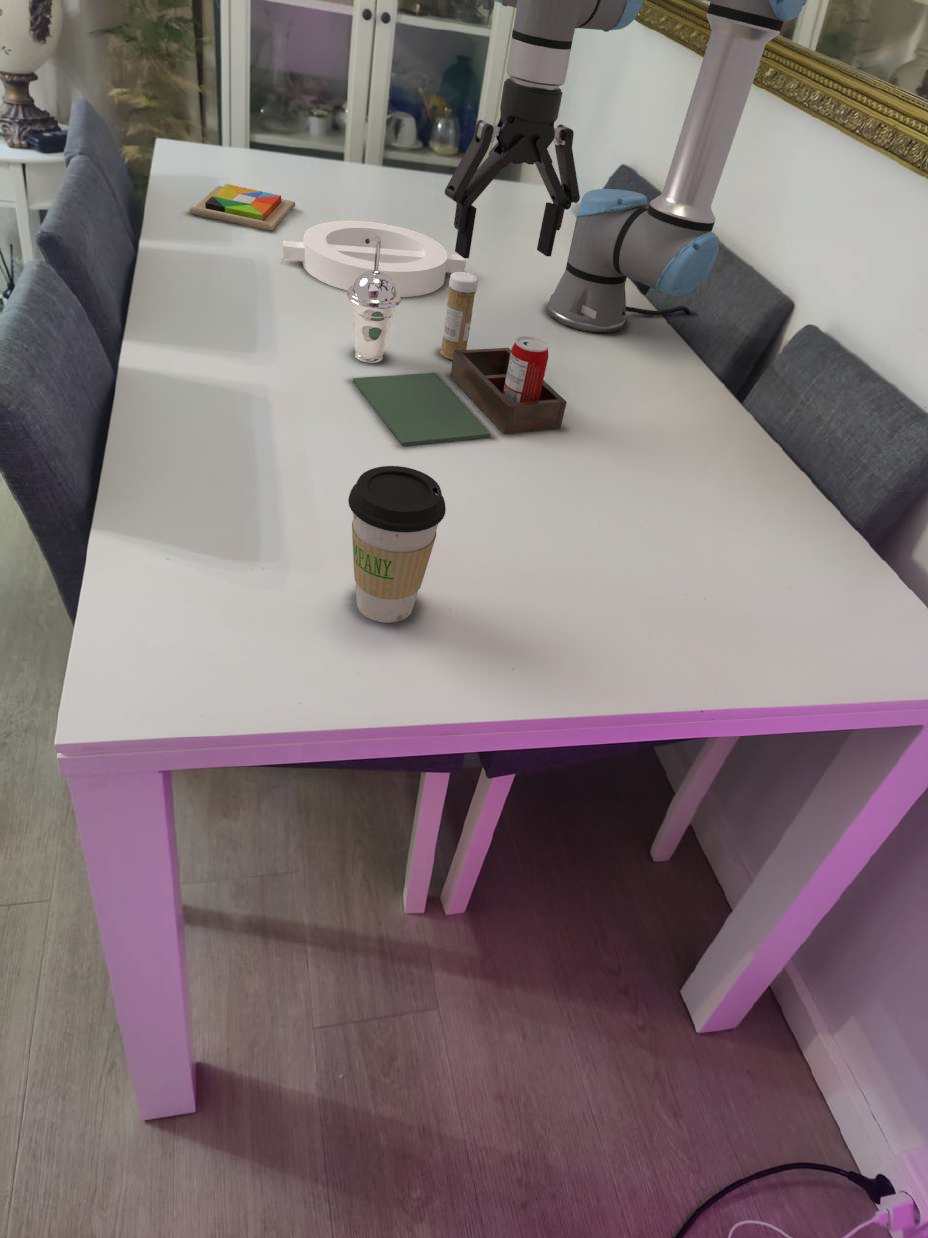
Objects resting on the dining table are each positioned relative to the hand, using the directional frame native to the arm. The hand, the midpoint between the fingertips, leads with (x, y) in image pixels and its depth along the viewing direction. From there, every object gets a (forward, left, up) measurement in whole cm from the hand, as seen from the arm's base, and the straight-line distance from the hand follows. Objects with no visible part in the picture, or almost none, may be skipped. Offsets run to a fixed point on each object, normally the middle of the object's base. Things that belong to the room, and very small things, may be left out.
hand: (503, 254), depth 127 cm
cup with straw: (+12, -17, -23) cm, 31 cm away
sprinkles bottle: (-3, -16, -23) cm, 28 cm away
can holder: (-4, +1, -22) cm, 23 cm away
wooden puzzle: (+13, -88, -23) cm, 92 cm away
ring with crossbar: (-4, -55, -23) cm, 60 cm away
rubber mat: (+10, +1, -22) cm, 25 cm away
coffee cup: (+33, +43, -23) cm, 59 cm away
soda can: (-4, +5, -23) cm, 24 cm away
